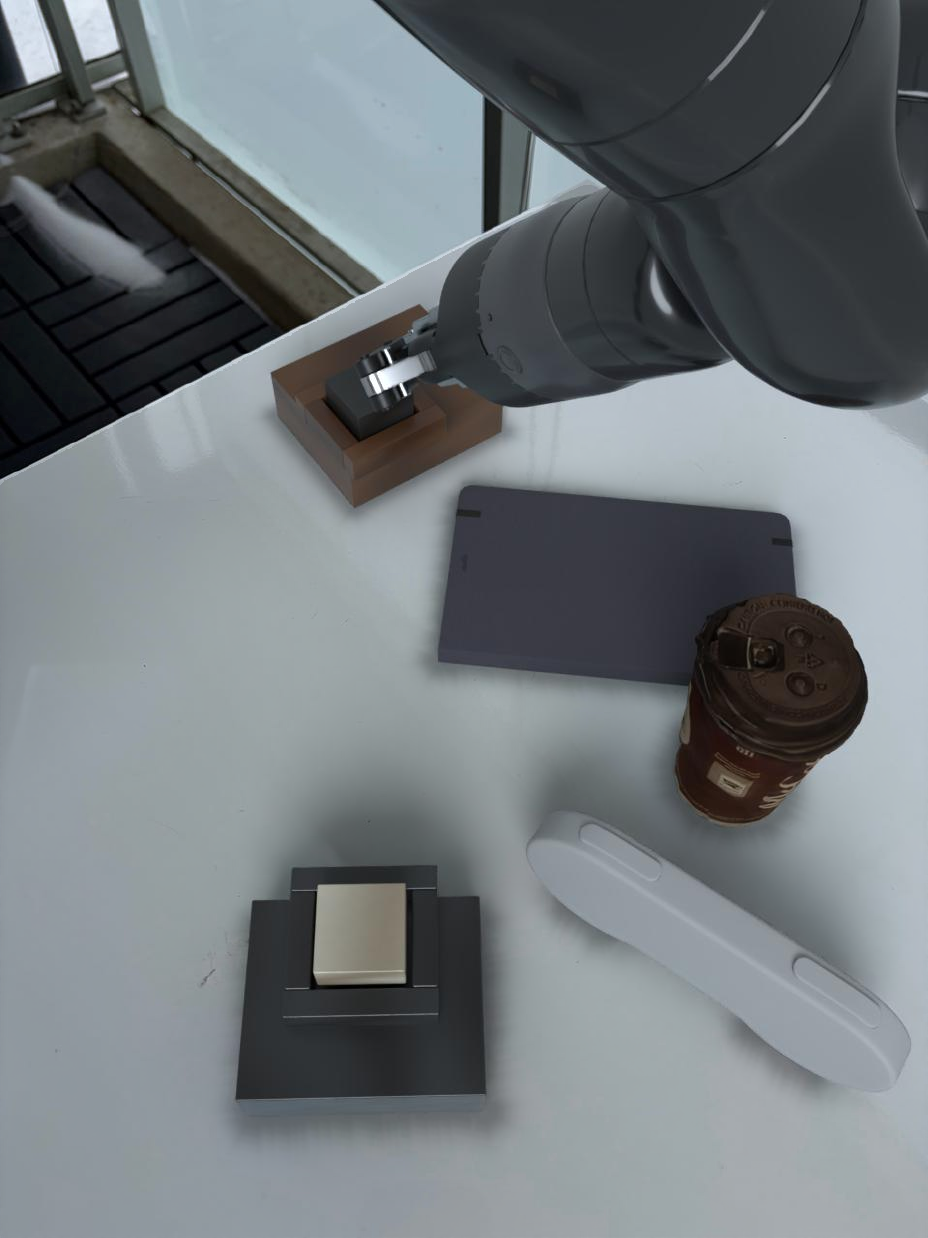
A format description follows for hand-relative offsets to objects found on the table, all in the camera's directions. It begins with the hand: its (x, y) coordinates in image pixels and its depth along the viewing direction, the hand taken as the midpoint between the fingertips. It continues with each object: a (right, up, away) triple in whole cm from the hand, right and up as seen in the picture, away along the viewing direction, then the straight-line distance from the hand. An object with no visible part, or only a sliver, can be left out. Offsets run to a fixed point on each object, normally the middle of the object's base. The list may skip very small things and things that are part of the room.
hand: (404, 357), depth 60 cm
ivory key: (-1, -29, -10) cm, 31 cm away
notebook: (+13, -13, +8) cm, 20 cm away
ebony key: (-3, -1, +8) cm, 9 cm away
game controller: (+15, -32, -5) cm, 36 cm away
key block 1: (-2, -1, +15) cm, 15 cm away
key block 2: (-1, -34, -6) cm, 35 cm away
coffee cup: (+18, -23, +1) cm, 29 cm away
